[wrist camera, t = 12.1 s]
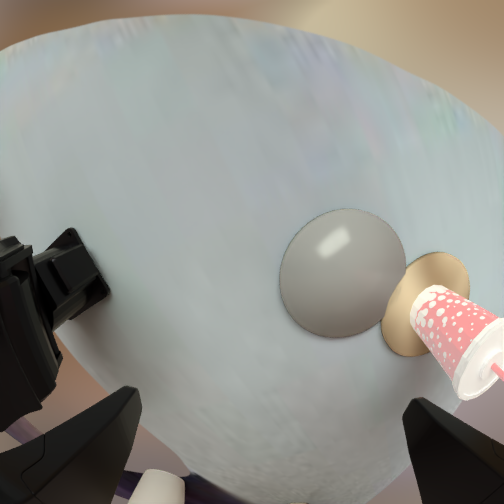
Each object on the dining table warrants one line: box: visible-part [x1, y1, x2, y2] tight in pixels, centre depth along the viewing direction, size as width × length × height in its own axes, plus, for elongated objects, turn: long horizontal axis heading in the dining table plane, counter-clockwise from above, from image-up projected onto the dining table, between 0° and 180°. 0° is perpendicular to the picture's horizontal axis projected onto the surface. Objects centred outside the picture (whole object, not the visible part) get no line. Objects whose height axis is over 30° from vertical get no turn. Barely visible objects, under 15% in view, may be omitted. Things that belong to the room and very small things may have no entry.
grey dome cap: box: [280, 209, 406, 337], centre depth 19 cm, size 10×10×1 cm
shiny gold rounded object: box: [381, 252, 470, 357], centre depth 20 cm, size 10×10×1 cm
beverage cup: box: [410, 285, 504, 401], centre depth 13 cm, size 6×6×14 cm
